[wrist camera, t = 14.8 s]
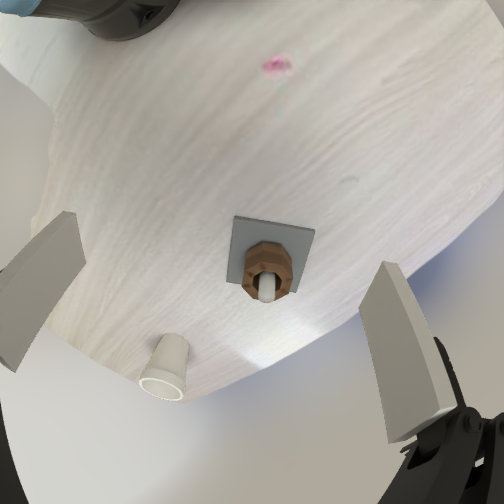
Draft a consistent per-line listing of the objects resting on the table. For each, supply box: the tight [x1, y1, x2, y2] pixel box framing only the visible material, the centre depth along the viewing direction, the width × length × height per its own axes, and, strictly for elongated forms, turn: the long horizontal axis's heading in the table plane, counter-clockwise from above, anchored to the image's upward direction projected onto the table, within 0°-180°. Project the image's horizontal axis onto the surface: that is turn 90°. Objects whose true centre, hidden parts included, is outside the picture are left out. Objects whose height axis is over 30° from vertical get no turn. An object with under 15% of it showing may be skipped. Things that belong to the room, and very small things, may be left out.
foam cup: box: [139, 333, 189, 401], centre depth 53 cm, size 10×9×13 cm
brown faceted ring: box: [242, 242, 293, 302], centre depth 40 cm, size 7×7×5 cm
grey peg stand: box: [226, 216, 315, 303], centre depth 40 cm, size 12×12×10 cm
